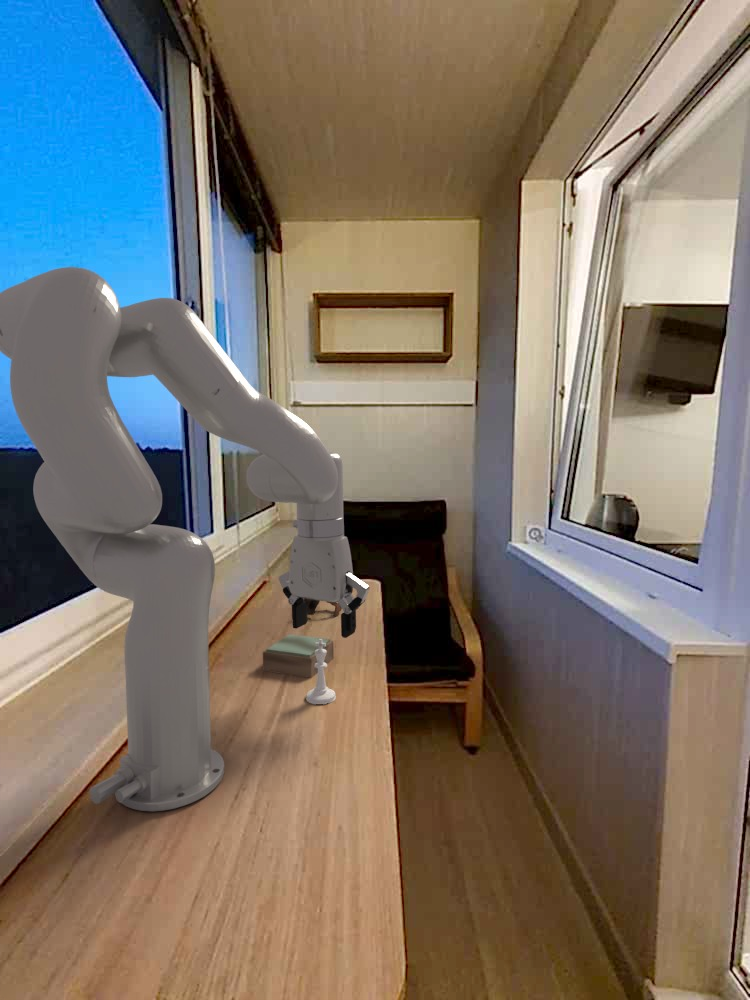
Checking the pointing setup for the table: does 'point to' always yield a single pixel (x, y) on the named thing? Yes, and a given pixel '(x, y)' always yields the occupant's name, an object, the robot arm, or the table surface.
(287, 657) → the pedestal
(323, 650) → the chess piece
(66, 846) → the table surface
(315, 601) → the brown curved open ring
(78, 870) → the table surface
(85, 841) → the table surface
